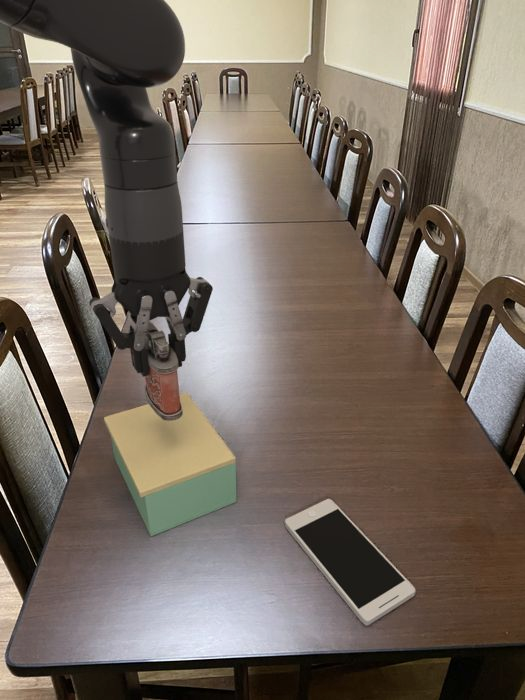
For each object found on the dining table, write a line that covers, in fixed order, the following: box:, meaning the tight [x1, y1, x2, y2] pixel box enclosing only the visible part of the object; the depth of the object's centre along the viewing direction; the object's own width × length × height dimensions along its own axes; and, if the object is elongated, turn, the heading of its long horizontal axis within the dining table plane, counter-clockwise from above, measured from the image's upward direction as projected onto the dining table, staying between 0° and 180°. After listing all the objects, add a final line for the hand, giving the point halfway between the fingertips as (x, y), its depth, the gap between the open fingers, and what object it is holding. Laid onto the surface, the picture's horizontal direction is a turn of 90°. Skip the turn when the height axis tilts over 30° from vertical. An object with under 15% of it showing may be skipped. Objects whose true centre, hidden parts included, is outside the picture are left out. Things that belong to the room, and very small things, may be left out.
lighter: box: [144, 320, 183, 421], centre depth 64 cm, size 8×3×10 cm, turn 29°
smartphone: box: [284, 498, 416, 627], centre depth 62 cm, size 7×16×1 cm, turn 31°
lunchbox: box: [110, 436, 237, 537], centre depth 71 cm, size 12×16×7 cm
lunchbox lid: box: [103, 392, 237, 497], centre depth 69 cm, size 12×16×1 cm
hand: (160, 367), depth 63 cm, fingers closed on lighter, 3 cm apart
